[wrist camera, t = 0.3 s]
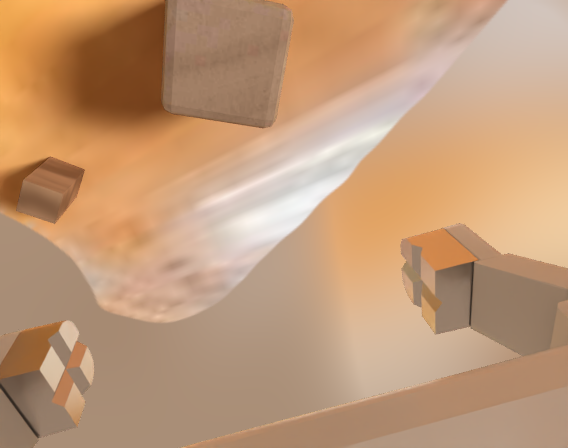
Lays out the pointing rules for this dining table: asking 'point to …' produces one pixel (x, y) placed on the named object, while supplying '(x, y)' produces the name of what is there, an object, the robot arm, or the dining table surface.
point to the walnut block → (50, 190)
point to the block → (225, 59)
